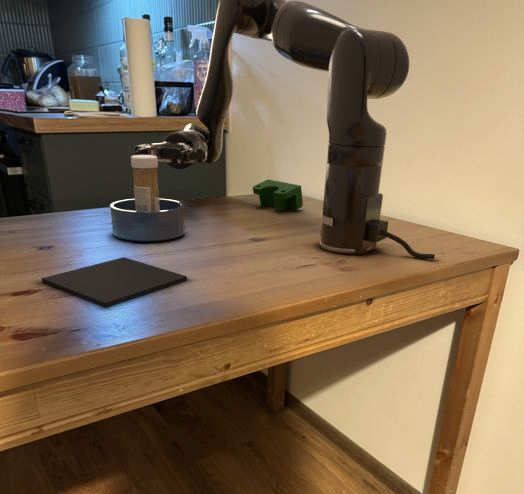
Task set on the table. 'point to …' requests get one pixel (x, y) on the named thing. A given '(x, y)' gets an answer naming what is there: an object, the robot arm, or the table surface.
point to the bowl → (148, 221)
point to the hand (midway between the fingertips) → (160, 156)
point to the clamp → (279, 195)
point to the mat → (114, 281)
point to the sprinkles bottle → (145, 182)
